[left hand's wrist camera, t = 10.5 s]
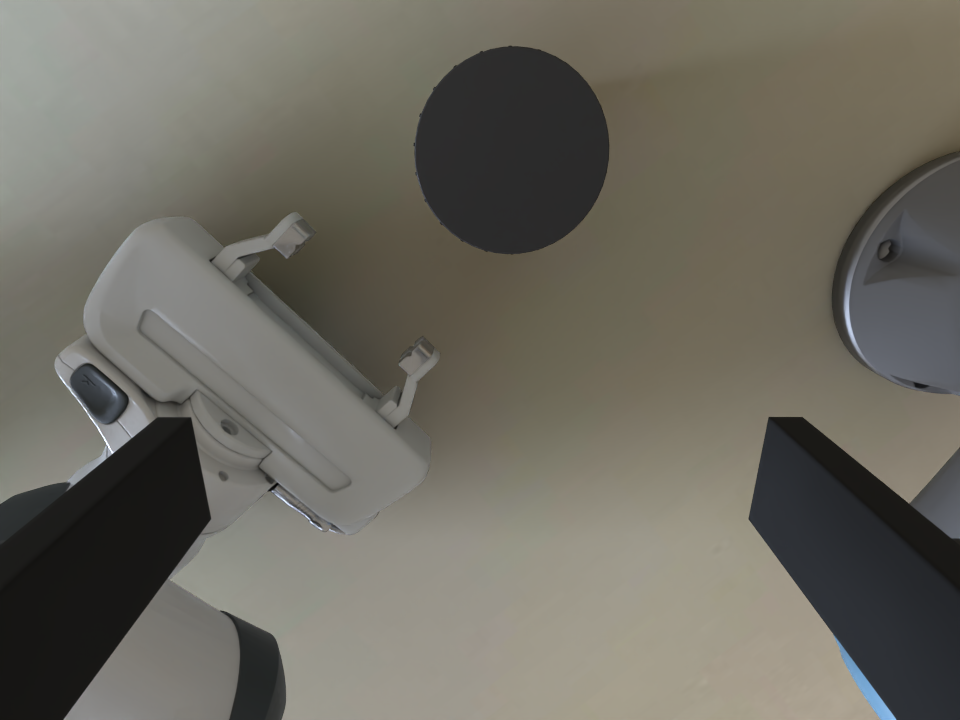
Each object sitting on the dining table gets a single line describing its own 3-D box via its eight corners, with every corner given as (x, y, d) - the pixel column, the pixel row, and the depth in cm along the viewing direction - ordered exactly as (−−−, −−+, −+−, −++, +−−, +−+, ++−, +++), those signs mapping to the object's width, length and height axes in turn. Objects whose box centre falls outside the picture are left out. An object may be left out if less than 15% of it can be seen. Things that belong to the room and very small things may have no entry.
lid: (497, 5, 19) (499, -7, 17) (640, 142, 20) (652, 142, 19) (380, 169, 21) (372, 170, 19) (519, 284, 22) (523, 293, 21)
